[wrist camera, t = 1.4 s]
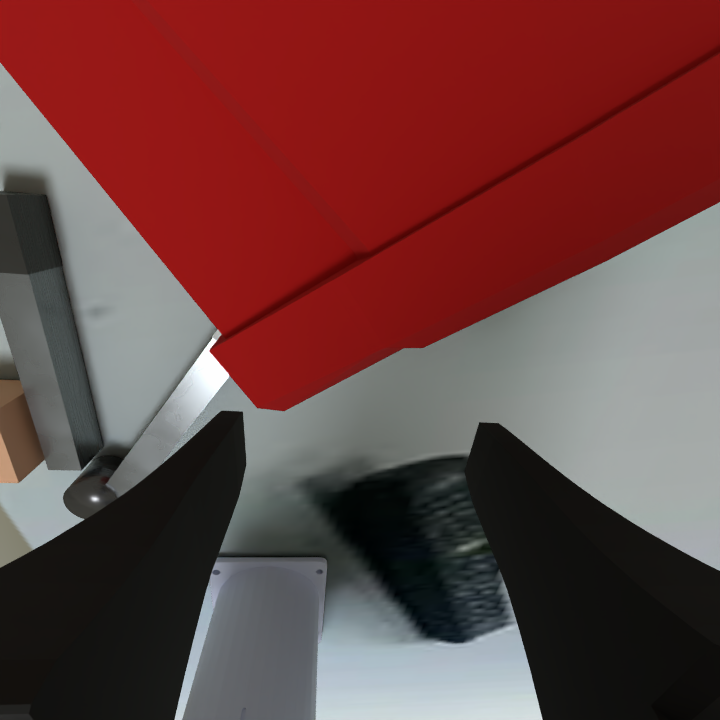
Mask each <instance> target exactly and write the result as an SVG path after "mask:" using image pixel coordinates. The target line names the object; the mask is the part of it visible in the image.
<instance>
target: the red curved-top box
mask: <svg viewBox="0 0 720 720" xmlns="http://www.w3.org/2000/svg"><path fill="white" fill-rule="evenodd" d="M0 63H1V64H2V65H3V66H4V68H5V69H6V70H7V71H8V72H9V74H10V75H11V76H12V77H13V79H14V80H15V81H16V82H17V83H18V85H19V86H20V87H21V88H22V90H23V91H24V92H25V93H26V95H27V96H28V97H29V98H30V99H31V101H32V102H33V103H34V104H35V106H36V107H37V108H38V109H39V110H40V112H41V113H42V114H43V115H44V117H45V118H46V119H47V120H48V122H49V123H50V124H51V125H52V126H53V128H54V129H55V130H56V131H57V133H58V134H59V135H60V136H61V138H62V139H63V140H64V141H65V142H66V144H67V145H68V146H69V147H70V149H71V150H72V151H73V152H74V153H75V155H76V156H77V157H78V158H79V160H80V161H81V162H82V163H83V165H84V166H85V167H86V168H87V169H88V171H89V172H90V173H91V174H92V176H93V177H94V178H95V179H96V180H97V182H98V183H99V184H100V185H101V187H102V188H103V189H104V190H105V192H106V193H107V194H108V195H109V196H110V198H111V199H112V200H113V201H114V203H115V204H116V205H117V206H118V208H119V209H120V210H121V211H122V212H123V214H124V215H125V216H126V217H127V219H128V220H129V221H130V222H131V223H132V225H133V226H134V227H135V228H136V230H137V231H138V232H139V233H140V235H141V236H142V237H143V238H144V239H145V241H146V242H147V243H148V244H149V246H150V247H151V248H152V249H153V250H154V252H155V253H156V254H157V255H158V257H159V258H160V259H161V260H162V262H163V263H164V264H165V265H166V266H167V268H168V269H169V270H170V271H171V273H172V274H173V275H174V276H175V278H176V279H177V280H178V281H179V282H180V284H181V285H182V286H183V287H184V289H185V290H186V291H187V292H188V293H189V295H190V296H191V297H192V298H193V300H194V301H195V302H196V303H197V305H198V306H199V307H200V308H201V309H202V311H203V312H204V313H205V314H206V316H207V317H208V318H209V319H210V320H211V322H212V323H213V324H214V325H215V327H216V328H217V329H218V330H219V332H220V333H221V334H222V335H221V336H220V337H219V338H218V340H217V341H216V342H215V343H214V345H213V346H212V347H211V348H210V350H209V352H210V353H211V354H212V355H213V357H214V358H215V359H216V360H217V361H218V362H219V364H220V365H221V366H222V367H223V368H224V370H225V371H226V372H227V373H228V374H229V375H230V377H231V378H232V379H233V380H234V381H235V382H236V384H237V385H238V386H239V387H240V388H241V390H242V391H243V392H244V393H245V394H246V395H247V397H248V398H249V399H250V400H251V401H252V402H253V404H254V405H255V406H256V407H257V408H261V409H270V410H279V411H285V410H287V409H289V408H291V407H293V406H295V405H297V404H299V403H301V402H303V401H304V400H306V399H308V398H310V397H312V396H314V395H316V394H318V393H320V392H322V391H323V390H325V389H327V388H329V387H331V386H333V385H335V384H337V383H339V382H341V381H342V380H344V379H346V378H348V377H350V376H352V375H354V374H356V373H358V372H359V371H361V370H363V369H365V368H367V367H369V366H371V365H373V364H375V363H377V362H378V361H380V360H382V359H384V358H386V357H388V356H390V355H392V354H394V353H396V352H397V351H399V350H401V349H403V348H424V347H426V346H428V345H430V344H432V343H434V342H436V341H439V340H441V339H443V338H445V337H447V336H449V335H451V334H453V333H455V332H458V331H460V330H462V329H464V328H466V327H468V326H470V325H472V324H474V323H477V322H479V321H481V320H483V319H485V318H487V317H489V316H491V315H493V314H496V313H498V312H500V311H502V310H504V309H506V308H508V307H510V306H512V305H514V304H517V303H519V302H521V301H523V300H525V299H527V298H529V297H531V296H533V295H536V294H538V293H540V292H542V291H544V290H546V289H548V288H550V287H552V286H555V285H557V284H559V283H561V282H563V281H565V280H567V279H569V278H571V277H574V276H576V275H578V274H580V273H582V272H584V271H586V270H588V269H590V268H593V267H595V266H597V265H599V264H601V263H603V262H605V261H607V260H609V259H611V258H613V257H615V256H617V255H619V254H621V253H623V252H625V251H626V250H628V249H630V248H632V247H634V246H636V245H638V244H640V243H642V242H644V241H646V240H648V239H650V238H651V237H653V236H655V235H657V234H659V233H661V232H663V231H665V230H667V229H669V228H671V227H673V226H675V225H677V224H678V223H680V222H682V221H684V220H686V219H688V218H690V217H692V216H694V215H696V214H698V213H700V212H702V211H703V210H705V209H707V208H709V207H711V206H713V205H715V204H717V203H719V202H720V0H0Z"/></svg>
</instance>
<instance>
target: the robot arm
mask: <svg viewBox="0 0 720 720" xmlns="http://www.w3.org/2000/svg"><path fill="white" fill-rule="evenodd" d="M245 468H246V452H245V437H244V422H243V412H239V411H221V412H219V413H218V414H217V415H216V416H215V417H214V418H213V419H212V420H211V421H210V422H209V423H207V424H206V425H205V426H204V427H203V428H202V429H201V430H200V431H199V432H198V433H197V434H196V435H195V436H194V437H192V438H191V439H190V440H189V441H188V442H187V443H186V444H185V445H184V446H182V447H181V448H180V449H179V450H178V451H177V452H176V453H175V454H173V455H172V456H171V457H170V458H169V459H168V460H166V461H165V462H164V463H163V464H162V465H160V466H159V467H158V468H157V469H155V470H154V471H153V472H152V473H150V474H149V475H148V476H147V477H145V478H144V479H143V480H142V481H140V482H139V483H138V484H137V485H135V486H134V487H132V488H131V489H130V490H128V491H127V492H126V493H124V494H123V495H121V496H120V497H119V498H117V499H116V500H114V501H113V502H111V503H110V504H108V505H107V506H105V507H104V508H102V509H101V510H99V511H98V512H96V513H95V514H93V515H92V516H90V517H88V518H87V519H85V520H83V521H82V522H80V523H78V524H77V525H75V526H74V527H72V528H70V529H69V530H67V531H65V532H64V533H62V534H60V535H59V536H57V537H55V538H54V539H52V540H50V541H49V542H47V543H45V544H43V545H42V546H40V547H38V548H36V549H34V550H33V551H31V552H29V553H27V554H25V555H24V556H22V557H20V558H18V559H16V560H14V561H12V562H11V563H9V564H7V565H5V566H3V567H1V568H0V720H174V719H175V714H176V710H177V706H178V701H179V697H180V693H181V689H182V684H183V680H184V676H185V671H186V667H187V663H188V659H189V655H190V651H191V647H192V643H193V639H194V635H195V631H196V627H197V623H198V619H199V616H200V612H201V608H202V604H203V600H204V596H205V593H206V589H207V586H208V583H209V579H210V586H211V595H212V604H213V614H212V617H211V621H210V624H209V628H208V631H207V635H206V638H205V642H204V645H203V649H202V652H201V656H200V659H199V663H198V666H197V670H196V673H195V677H194V680H193V684H192V687H191V691H190V694H189V698H188V701H187V705H186V708H185V712H184V715H183V719H182V720H315V718H316V685H317V653H318V644H319V643H320V642H321V638H322V626H323V613H324V600H325V587H326V575H327V560H326V559H325V558H322V557H217V556H218V554H219V551H220V548H221V545H222V542H223V540H224V537H225V534H226V531H227V529H228V526H229V523H230V520H231V518H232V515H233V512H234V509H235V506H236V503H237V501H238V498H239V494H240V490H241V486H242V482H243V477H244V473H245ZM465 475H466V480H467V484H468V488H469V491H470V495H471V499H472V502H473V505H474V507H475V510H476V513H477V515H478V518H479V520H480V523H481V525H482V528H483V530H484V532H485V535H486V537H487V540H488V542H489V545H490V547H491V550H492V552H493V554H494V557H495V559H496V562H497V564H498V567H499V569H500V572H501V574H502V577H503V580H504V582H505V585H506V588H507V591H508V594H509V597H510V600H511V604H512V607H513V610H514V614H515V617H516V620H517V624H518V627H519V630H520V634H521V638H522V641H523V645H524V649H525V652H526V656H527V659H528V663H529V667H530V670H531V674H532V678H533V682H534V686H535V690H536V694H537V698H538V702H539V706H540V710H541V714H542V718H543V720H720V571H719V570H717V569H715V568H713V567H711V566H709V565H707V564H705V563H703V562H701V561H699V560H697V559H695V558H693V557H691V556H689V555H688V554H686V553H684V552H682V551H680V550H678V549H677V548H675V547H673V546H671V545H670V544H668V543H666V542H664V541H663V540H661V539H659V538H657V537H655V536H654V535H652V534H650V533H649V532H647V531H645V530H644V529H642V528H640V527H639V526H637V525H635V524H634V523H632V522H630V521H629V520H627V519H626V518H624V517H623V516H621V515H620V514H618V513H616V512H615V511H613V510H612V509H610V508H609V507H607V506H606V505H604V504H603V503H601V502H600V501H598V500H597V499H595V498H594V497H593V496H591V495H590V494H588V493H587V492H586V491H584V490H583V489H582V488H580V487H579V486H577V485H576V484H575V483H573V482H572V481H571V480H569V479H568V478H567V477H565V476H564V475H563V474H562V473H560V472H559V471H558V470H556V469H555V468H554V467H553V466H551V465H550V464H549V463H548V462H546V461H545V460H544V459H543V458H541V457H540V456H539V455H538V454H536V453H535V452H534V451H533V450H532V449H530V448H529V447H528V446H527V445H525V444H524V443H523V442H522V441H521V440H519V439H518V438H517V437H516V436H514V435H513V434H512V433H511V432H509V431H508V430H507V429H506V428H504V427H503V426H501V425H500V424H499V423H481V422H479V425H478V429H477V432H476V435H475V439H474V442H473V445H472V448H471V452H470V455H469V458H468V462H467V465H466V468H465Z"/></svg>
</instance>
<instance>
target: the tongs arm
mask: <svg viewBox="0 0 720 720" xmlns="http://www.w3.org/2000/svg"><path fill="white" fill-rule="evenodd" d="M221 335H222V334H221V333H220V332H219V330H218V329H217V331H216V332H215V333H214V335H213V336H212V340H211V341H210V342H209V344H208V345H207V346H206V348H205V349H204V351H203V352H202V353H201V355H200V356H199V357H198V359H197V360H196V362H195V363H194V364H193V366H192V367H191V368H190V370H189V371H188V372H187V374H186V375H185V377H184V378H183V379H182V381H181V382H180V383H179V385H178V386H177V388H176V389H175V390H174V392H173V393H172V394H171V396H170V397H169V399H168V400H167V401H166V403H165V404H164V405H163V407H162V408H161V409H160V411H159V412H158V414H157V415H156V416H155V418H154V419H153V420H152V422H151V423H150V425H149V426H148V427H147V429H146V430H145V431H144V433H143V434H142V436H141V437H140V438H139V440H138V441H137V442H136V444H135V445H134V446H133V448H132V449H131V451H130V452H129V453H128V455H127V456H126V457H125V459H124V460H122V459H120V458H117V457H112V456H104V457H99V458H97V459H95V460H94V461H92V462H91V463H90V465H89V466H88V467H87V468H86V469H85V470H84V471H83V472H82V473H81V474H80V476H79V477H78V478H77V479H76V480H75V481H74V482H73V483H72V484H71V486H70V487H69V488H68V489H67V490H66V491H65V493H64V496H63V501H64V504H65V506H66V507H67V509H68V510H69V511H70V512H72V513H73V514H74V515H76V516H78V517H80V518H83V519H87V518H88V517H90V516H92V515H93V514H95V513H96V512H98V511H99V510H101V509H102V508H104V507H105V506H107V505H108V504H110V503H111V502H113V501H114V500H116V499H117V498H119V497H120V496H121V495H123V494H124V493H126V492H127V491H128V490H130V489H131V488H132V487H134V486H135V485H137V484H138V483H139V482H140V481H142V480H143V479H144V478H145V477H147V476H148V475H149V474H150V473H152V472H153V471H154V470H155V469H157V468H158V467H159V466H160V465H161V463H162V462H163V461H164V460H165V458H166V457H167V456H168V454H169V453H170V452H171V451H172V449H173V448H174V447H175V445H176V444H177V443H178V442H179V440H180V439H181V438H182V436H183V435H184V434H185V433H186V431H187V430H188V429H189V427H190V426H191V425H192V424H193V422H194V421H195V420H196V418H197V417H198V416H199V414H200V413H201V412H202V411H203V409H204V408H205V407H206V405H207V404H208V403H209V402H210V400H211V399H212V398H213V396H214V395H215V394H216V393H217V391H218V390H219V389H220V387H221V386H222V385H223V384H224V382H225V381H226V380H227V378H228V377H229V376H230V375H229V374H228V373H227V372H226V371H225V370H224V368H223V367H222V366H221V365H220V364H219V362H218V361H217V360H216V359H215V358H214V357H213V355H212V354H211V353H210V352H209V350H210V348H211V347H212V346H213V345H214V343H215V342H216V341H217V340H218V338H219V337H220V336H221Z"/></svg>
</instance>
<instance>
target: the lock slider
mask: <svg viewBox="0 0 720 720" xmlns="http://www.w3.org/2000/svg"><path fill="white" fill-rule="evenodd" d="M44 460H45V457H44V454H43V451H42V448H41V445H40V441H39V438H38V435H37V432H36V429H35V426H34V422H33V419H32V416H31V413H30V410H29V407H28V403H27V400H26V397H25V394H24V391H23V388H22V384H21V381H20V380H0V483H19V482H21V481H22V480H23V479H24V478H25V477H26V476H27V475H28V474H29V473H30V472H31V471H33V470H34V469H35V468H36V467H37V466H38V465H39V464H40V463H41V462H42V461H44Z"/></svg>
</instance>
